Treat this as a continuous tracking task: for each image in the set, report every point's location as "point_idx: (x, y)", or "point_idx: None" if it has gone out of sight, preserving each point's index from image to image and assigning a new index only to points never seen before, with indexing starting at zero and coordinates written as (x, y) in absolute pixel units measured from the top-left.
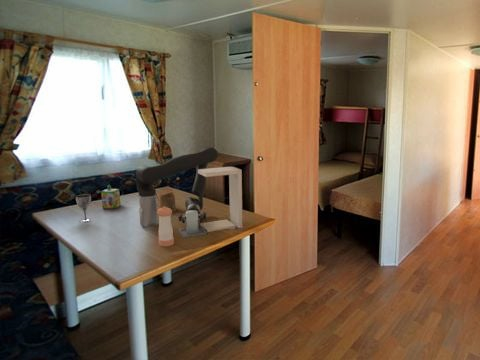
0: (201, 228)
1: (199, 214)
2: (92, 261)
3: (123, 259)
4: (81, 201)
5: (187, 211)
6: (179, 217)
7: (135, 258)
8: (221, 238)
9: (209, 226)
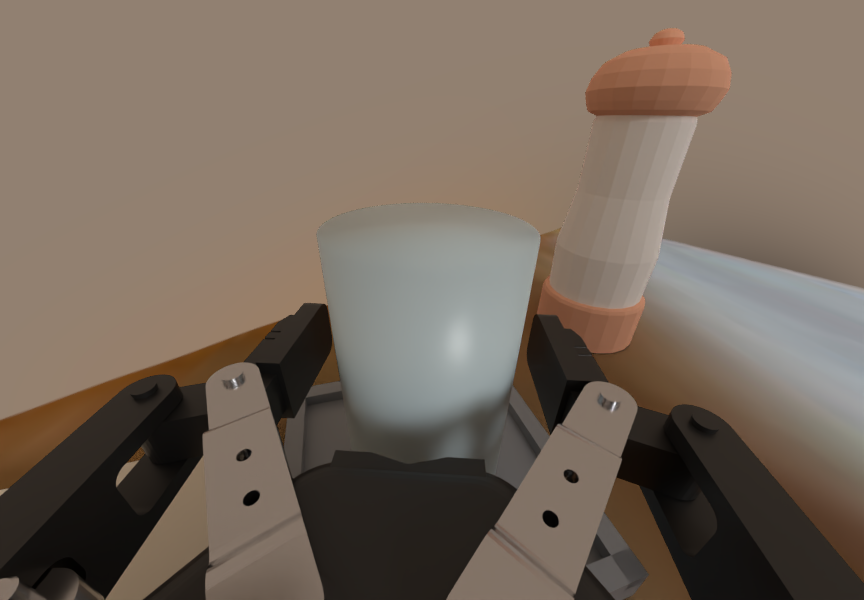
0: None
1: (235, 420)
2: (791, 270)
3: (683, 267)
4: None
5: (516, 239)
6: (688, 417)
7: None
8: (228, 355)
9: (127, 588)
